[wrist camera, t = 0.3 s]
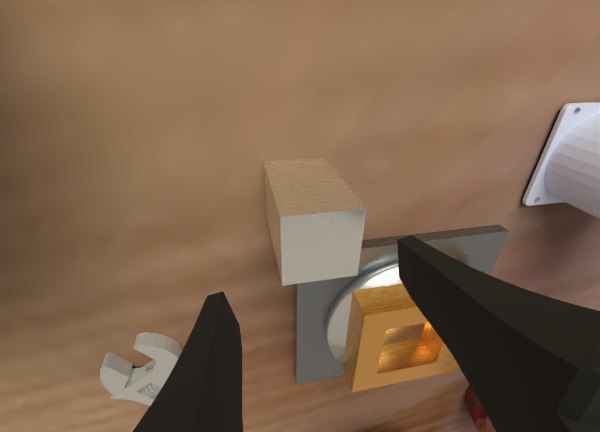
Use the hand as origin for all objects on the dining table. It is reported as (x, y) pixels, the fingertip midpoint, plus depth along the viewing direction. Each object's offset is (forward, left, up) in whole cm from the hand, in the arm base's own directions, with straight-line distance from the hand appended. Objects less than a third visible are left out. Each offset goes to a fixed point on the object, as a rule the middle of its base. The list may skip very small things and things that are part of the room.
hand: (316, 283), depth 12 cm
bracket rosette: (-10, +13, -9) cm, 19 cm away
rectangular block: (-1, 0, -10) cm, 10 cm away
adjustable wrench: (+11, +24, -10) cm, 29 cm away
